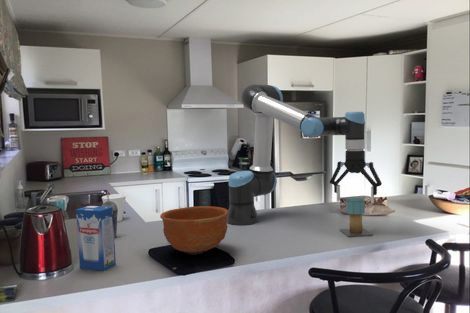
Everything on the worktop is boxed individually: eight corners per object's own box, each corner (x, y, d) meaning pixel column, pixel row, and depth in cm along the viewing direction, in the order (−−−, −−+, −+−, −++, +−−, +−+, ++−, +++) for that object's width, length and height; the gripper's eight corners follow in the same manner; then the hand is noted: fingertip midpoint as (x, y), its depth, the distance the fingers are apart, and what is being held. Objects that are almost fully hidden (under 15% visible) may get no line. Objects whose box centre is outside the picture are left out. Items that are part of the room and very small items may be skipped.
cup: (130, 220, 201) (129, 196, 200) (107, 224, 194) (105, 199, 194) (123, 216, 211) (121, 193, 210) (100, 220, 204) (98, 196, 203)
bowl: (172, 269, 131) (169, 223, 130) (155, 248, 154) (153, 209, 152) (241, 256, 141) (239, 214, 139) (215, 239, 163) (214, 202, 162)
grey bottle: (103, 240, 166) (100, 193, 165) (100, 236, 173) (97, 190, 171) (121, 238, 170) (118, 191, 168) (117, 234, 176) (115, 189, 175)
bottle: (348, 237, 159) (347, 205, 158) (339, 230, 169) (339, 201, 168) (372, 235, 160) (372, 204, 159) (362, 229, 170) (362, 200, 169)
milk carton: (79, 268, 135) (75, 209, 133) (92, 262, 140) (88, 205, 139) (104, 271, 131) (100, 210, 129) (116, 264, 137) (112, 206, 135)
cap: (343, 212, 165) (343, 198, 164) (353, 209, 169) (353, 195, 168) (357, 215, 159) (357, 200, 159) (367, 212, 163) (367, 197, 163)
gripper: (389, 149, 159) (388, 202, 161) (326, 149, 171) (327, 198, 173) (386, 151, 153) (386, 205, 155) (322, 150, 164) (322, 201, 166)
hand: (355, 201), depth 164 cm, fingers open, 13 cm apart
